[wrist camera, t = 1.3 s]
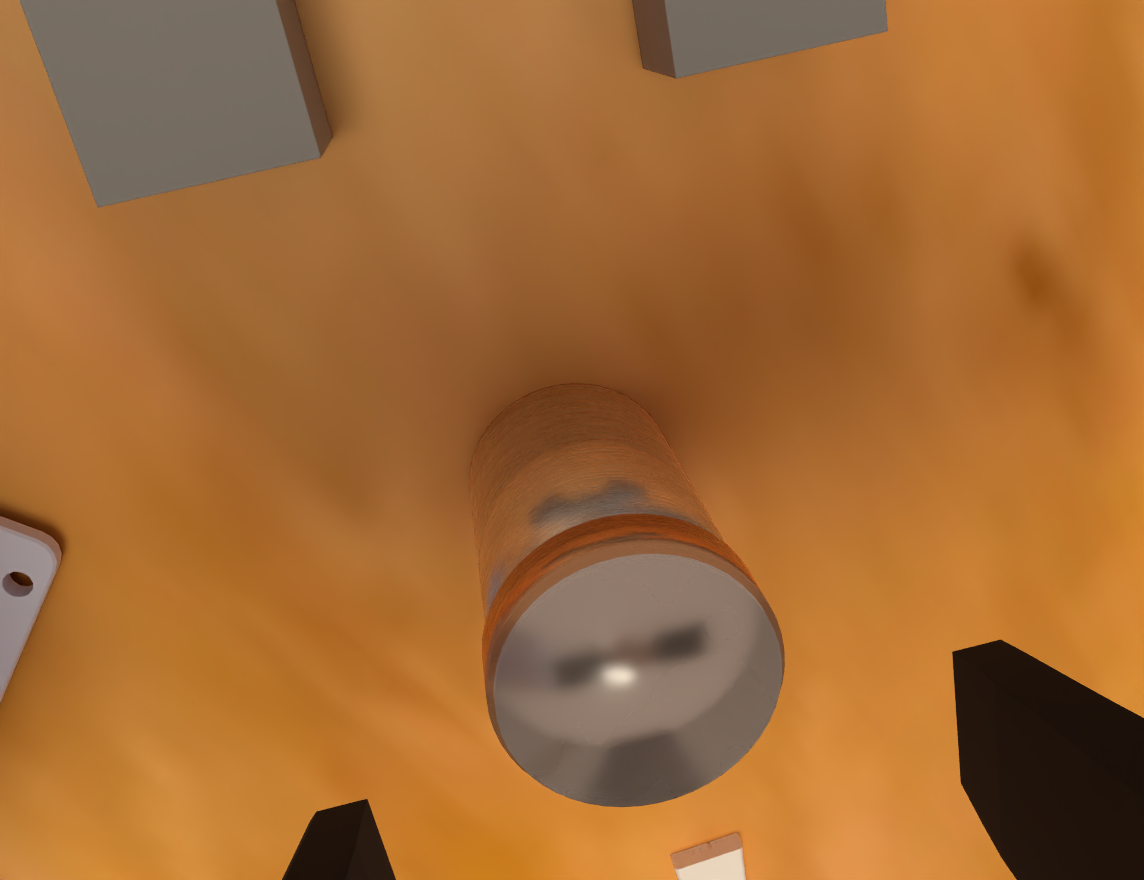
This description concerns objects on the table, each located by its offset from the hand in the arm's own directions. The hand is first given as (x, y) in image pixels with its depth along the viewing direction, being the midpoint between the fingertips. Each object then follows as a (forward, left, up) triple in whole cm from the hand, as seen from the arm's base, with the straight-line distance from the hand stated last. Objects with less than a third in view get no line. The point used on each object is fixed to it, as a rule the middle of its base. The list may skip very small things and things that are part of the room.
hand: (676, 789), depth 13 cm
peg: (0, 0, -9) cm, 9 cm away
